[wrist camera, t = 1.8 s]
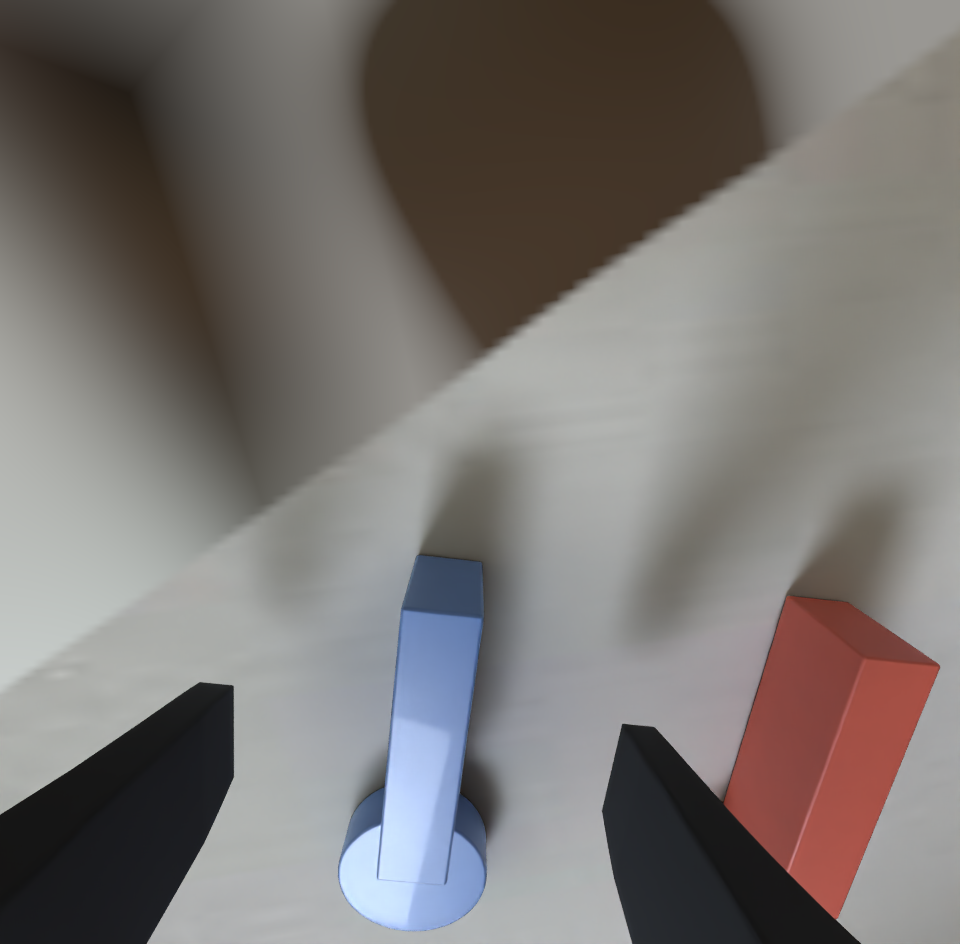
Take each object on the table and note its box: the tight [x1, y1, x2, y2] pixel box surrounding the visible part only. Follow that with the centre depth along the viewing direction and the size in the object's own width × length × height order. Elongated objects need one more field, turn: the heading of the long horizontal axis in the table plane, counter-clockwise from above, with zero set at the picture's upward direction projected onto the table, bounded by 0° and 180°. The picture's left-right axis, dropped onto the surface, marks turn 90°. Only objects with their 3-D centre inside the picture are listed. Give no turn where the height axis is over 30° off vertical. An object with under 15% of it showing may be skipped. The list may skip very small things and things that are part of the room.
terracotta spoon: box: [723, 596, 940, 919], centre depth 11 cm, size 9×3×2 cm, turn 173°
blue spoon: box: [338, 555, 487, 931], centre depth 10 cm, size 9×3×2 cm, turn 173°
